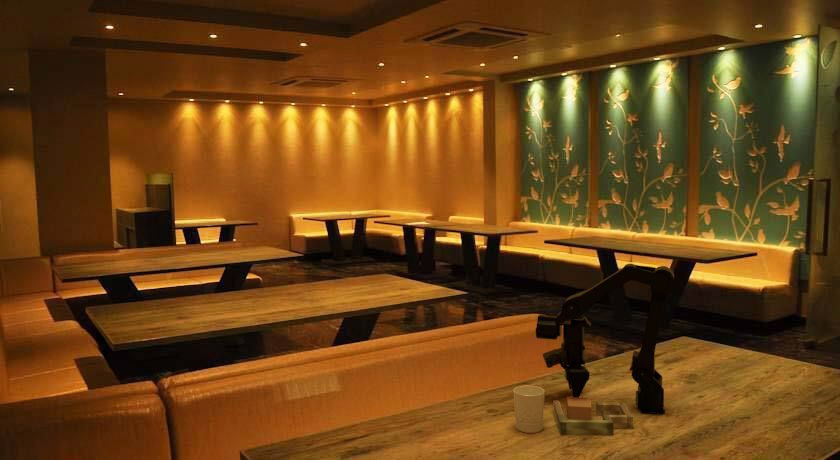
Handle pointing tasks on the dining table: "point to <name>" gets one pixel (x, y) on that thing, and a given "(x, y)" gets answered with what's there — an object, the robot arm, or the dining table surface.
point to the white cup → (529, 408)
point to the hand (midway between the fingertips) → (573, 394)
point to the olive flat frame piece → (612, 417)
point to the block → (579, 408)
